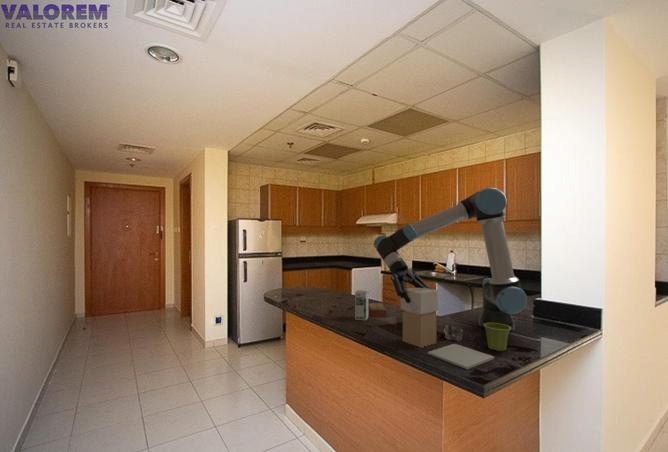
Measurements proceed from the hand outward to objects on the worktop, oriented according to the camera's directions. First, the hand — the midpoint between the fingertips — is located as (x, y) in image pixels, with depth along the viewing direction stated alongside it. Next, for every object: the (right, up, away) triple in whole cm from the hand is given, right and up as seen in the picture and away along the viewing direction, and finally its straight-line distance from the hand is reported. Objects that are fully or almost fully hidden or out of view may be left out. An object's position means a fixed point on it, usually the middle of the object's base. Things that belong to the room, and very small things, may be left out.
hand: (424, 307), depth 129 cm
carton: (-13, -16, +49) cm, 53 cm away
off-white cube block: (-2, -3, +2) cm, 4 cm away
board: (+9, -15, -13) cm, 21 cm away
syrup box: (-22, -16, +37) cm, 46 cm away
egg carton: (+15, -16, +9) cm, 23 cm away
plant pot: (+27, -15, -5) cm, 31 cm away
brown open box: (-2, -15, +2) cm, 15 cm away
